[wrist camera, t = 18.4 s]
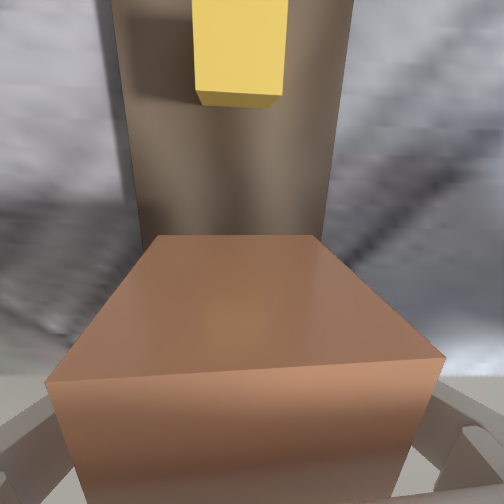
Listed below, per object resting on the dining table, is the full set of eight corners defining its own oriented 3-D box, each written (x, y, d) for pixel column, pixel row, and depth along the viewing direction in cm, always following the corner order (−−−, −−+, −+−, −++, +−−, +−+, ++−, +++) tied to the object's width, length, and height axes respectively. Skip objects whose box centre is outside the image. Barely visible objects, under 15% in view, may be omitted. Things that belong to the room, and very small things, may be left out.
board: (398, -410, 10) (419, -478, 9) (309, 284, 22) (313, 291, 21) (55, -510, 9) (31, -604, 8) (153, 288, 21) (149, 295, 19)
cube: (272, 27, 14) (289, -17, 10) (268, 109, 16) (282, 95, 12) (199, 21, 14) (190, -27, 10) (202, 105, 15) (195, 90, 11)
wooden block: (312, 234, 11) (447, 358, 4) (297, 352, 13) (371, 546, 7) (157, 235, 10) (44, 382, 4) (171, 359, 12) (116, 583, 6)
